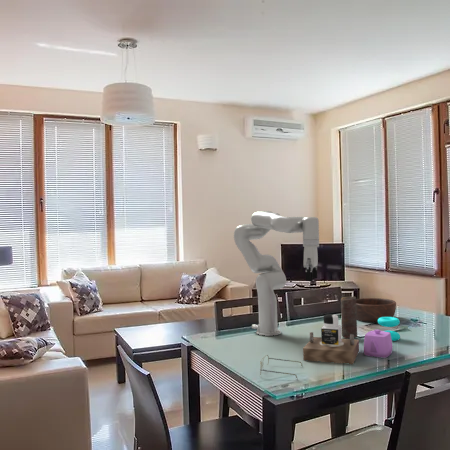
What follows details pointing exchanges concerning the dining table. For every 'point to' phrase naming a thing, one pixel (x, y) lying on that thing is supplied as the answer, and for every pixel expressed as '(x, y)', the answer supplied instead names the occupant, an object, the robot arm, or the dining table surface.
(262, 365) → the eyeglasses
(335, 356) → the stand
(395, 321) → the donuts
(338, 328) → the medicine bottle
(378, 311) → the wooden bowl
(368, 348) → the teapot
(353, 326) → the brown rusty cylinder
